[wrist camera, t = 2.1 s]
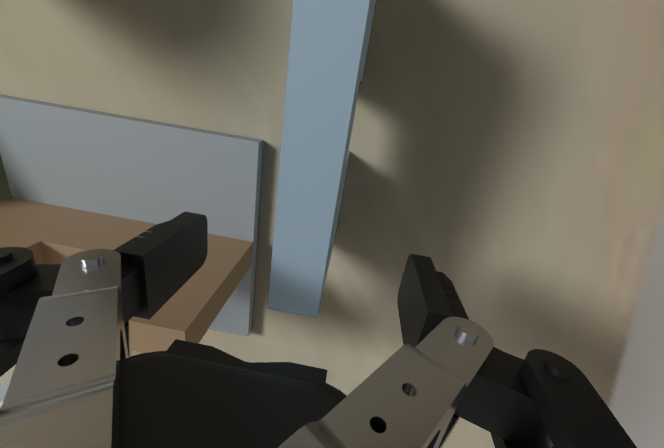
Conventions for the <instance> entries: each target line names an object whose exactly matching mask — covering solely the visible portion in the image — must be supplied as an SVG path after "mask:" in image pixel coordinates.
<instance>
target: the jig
mask: <svg viewBox="0 0 664 448" xmlns="http://www.w3.org/2000/svg"><path fill="white" fill-rule="evenodd" d="M262 152H263V140H260V139H254V138H248V137H242V136H236V135H231V134H225V133H219V132H213V131H207V130H202V129H196V128H190V127H184V126H179V125H173V124H167V123H161V122H155V121H150V120H144V119H138V118H132V117H126V116H121V115H115V114H109V113H103V112H98V111H92V110H86V109H80V108H74V107H69V106H63V105H57V104H51V103H46V102H40V101H34V100H28V99H22V98H17V97H11V96H5V95H0V156H1V159H2V163H3V166H4V170H5V174H6V177H7V181H8V184H9V188H10V192H11V195H12V197H11V198H8V199H4V200H1V201H0V248H2V247H24V248H28V249H30V250H32V251H33V254H34V258H35V262H36V264H61V263H62V262H63V260H64V259H66V258H67V257H69V256H71V255H73V254H75V253H78V252H82V251H86V250H92V249H109V250H114V249H116V248H118V247H119V246H121V245H123V244H124V243H126V242H128V241H129V240H131V239H133V238H134V237H138V235H139V234H141V233H143V232H146V230H148V229H149V228H151V227H153V226H154V225H156V224H160V223H163V222H166V221H170V220H172V219H173V218H175V217H176V216H178V215H180V214H181V213H183V212H185V211H186V212H192V213H197V214H202V215H205V216H206V217H207V223H208V252H207V257H206V260H205V262H204V264H203V266H202V267H201V268H200V269H199V270H198V271H197V272H196V273H195V274H194V275H193V276H192V277H191V278H190V279H189V280H188V281H187V282H186V283H185V284H184V285H183V286H182V287H181V288H180V289H179V290H178V291H177V292H176V293H175V294H174V295H173V296H172V297H171V298H170V299H169V300H168V301H167V302H166V303H165V304H164V305H163V306H162V307H161V308H160V309H159V310H158V311H157V312H156V313H155V314H154V315H153V316H152V317H151V318H150V320H149V319H144V318H139V317H134V316H133V317H132V318H131V319H130V320H129V325H130V350H132V351H137V352H142V353H149V352H156V351H167V349H168V348H169V347H170V346H171V344H172V343H173V342H174V341H175V339H178V340H183V341H188V342H192V343H197V344H198V343H199V342H200V340H201V339H202V337H203V336H204V334H205V333H206V331H207V330H208V329H213V330H218V331H223V332H228V333H233V334H239V335H244V336H249V333H250V331H251V329H252V317H253V301H254V284H255V268H256V251H257V235H258V218H259V201H260V185H261V168H262Z"/></svg>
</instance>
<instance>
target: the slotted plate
mask: <svg viewBox="0 0 664 448" xmlns="http://www.w3.org/2000/svg"><path fill="white" fill-rule="evenodd" d="M375 4H376V0H293V11H292V23H291V35H290V47H289V59H288V71H287V83H286V95H285V107H284V118H283V130H282V142H281V154H280V166H279V178H278V190H277V202H276V214H275V226H274V238H273V250H272V262H271V274H270V285H269V297H268V309H273V310H278V311H283V312H288V313H293V314H299V315H304V316H309V317H314V318H317V316H318V311H319V307H320V302H321V298H322V293H323V289H324V284H325V280H326V275H327V271H328V266H329V262H330V257H331V253H332V248H333V244H334V239H335V235H336V229H337V224H338V218H339V212H340V206H341V201H342V195H343V189H344V183H345V177H346V172H347V166H348V160H349V154H350V151H348V149H349V143H350V137H351V132H352V126H353V120H354V114H355V108H356V102H357V96H358V91H359V85H360V82H362V79H363V73H364V68H365V62H366V56H367V50H368V44H369V39H370V33H371V27H372V21H373V16H374V10H375Z"/></svg>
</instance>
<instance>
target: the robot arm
mask: <svg viewBox="0 0 664 448" xmlns="http://www.w3.org/2000/svg"><path fill="white" fill-rule="evenodd" d="M207 252H208V223H207V217H206V216H205V215H202V214H197V213H192V212H186V211H185V212H183V213H181V214H180V215H178V216H176V217H175V218H173V219H172V220H170V221H166V222H163V223H160V224H156V225H154V226H153V227H151V228H149V229H148V230H146V232H143V233H141V234H139V235H138V237H134V238H133V239H131V240H129V241H128V242H126V243H124V244H123V245H121V246H119V247H118V248H116V249H114V250H109V249H92V250H86V251H82V252H78V253H75V254H73V255H71V256H69V257H67V258H66V259H64V260H63V262H62V263H61V264H36V262H35V258H34V254H33V251H32V250H30V249H28V248H24V247H2V248H0V377H1V376H2V375H3V374H4V373H5V372H7V371H8V370H9V369H10V368H12V367H13V366H14V365H15V364H16V367H15V369H14V372H13V375H12V378H11V381H10V384H9V387H8V390H7V393H6V395H5V398H4V401H3V404H2V407H1V408H0V448H442V447H443V445H444V444H445V442H446V440H447V439H448V437H449V435H450V434H451V432H452V430H453V429H454V427H455V426H456V424H457V422H458V421H459V419H460V417H461V418H463V419H465V420H467V421H469V422H471V423H473V424H475V425H477V426H479V427H481V428H483V429H485V430H487V431H489V432H491V436H492V439H493V442H494V446H495V448H637V447H636V446H635V444H634V443H633V442H632V440H631V439H630V437H629V436H628V435H627V434H626V432H625V430H624V429H623V428H622V426H621V425H620V424H619V422H618V421H617V419H616V418H615V417H614V415H613V414H612V412H611V411H610V410H609V408H608V407H607V405H606V404H605V403H604V401H603V400H602V398H601V397H600V396H599V394H598V393H597V391H596V390H595V389H594V387H593V386H592V385H591V383H590V382H589V380H588V379H587V378H586V376H585V375H584V374H583V373H582V372H581V371H580V370H579V369H578V368H577V367H576V366H575V365H573V364H572V363H571V362H569V361H568V360H566V359H565V358H563V357H561V356H559V355H557V354H555V353H552V352H549V351H546V350H541V349H534V350H531V351H529V352H528V354H527V356H526V358H525V359H524V360H523V359H520V358H518V357H515V356H513V355H510V354H508V353H505V352H503V351H501V350H499V349H497V348H495V347H493V340H492V338H491V336H490V335H489V334H488V332H487V331H486V330H484V329H483V328H482V327H481V326H479V325H478V324H476V323H474V322H472V321H470V320H469V319H468V316H467V314H466V312H465V310H464V308H463V305H462V303H461V301H460V299H459V297H458V294H457V292H455V288H454V286H453V283H452V281H451V280H450V279H449V278H448V277H447V276H446V275H445V274H443V273H442V272H437V271H436V270H435V268H434V265H433V263H432V260H431V258H430V257H425V256H420V255H415V254H410V255H409V257H408V260H407V263H406V266H405V270H404V273H403V277H402V280H401V284H400V288H399V292H398V310H399V317H400V324H401V331H402V337H403V344H404V345H403V346H402V347H401V348H400V349H399V350H398V351H397V352H395V353H394V354H393V355H392V356H391V357H390V358H389V359H388V360H387V361H385V362H384V363H383V364H382V365H381V366H380V367H379V368H378V369H377V370H375V371H374V372H373V373H372V374H371V375H370V376H369V377H368V378H367V379H365V380H364V381H363V382H362V383H361V384H360V385H359V386H358V387H357V388H355V389H354V390H353V391H352V392H351V393H350V394H349V395H348V396H346V395H345V394H344V393H342V392H341V391H340V390H338V389H336V388H335V387H333V386H331V385H329V384H327V383H325V382H326V376H327V370H325V369H320V368H315V367H310V366H305V365H301V364H296V363H291V362H267V363H249V362H245V361H242V360H240V359H238V358H236V357H234V356H231V355H229V354H227V353H225V352H223V351H221V350H219V349H217V348H214V347H212V346H207V345H202V344H197V343H192V342H188V341H183V340H178V339H175V341H174V342H173V343H172V344H171V346H170V347H169V348H168V349H167V351H156V352H149V353H143V354H139V355H135V356H132V357H131V350H130V325H129V320H130V319H131V318H132V317H133V316H134V317H139V318H144V319H149V320H150V318H151V317H152V316H153V315H154V314H155V313H156V312H157V311H158V310H159V309H160V308H161V307H162V306H163V305H164V304H165V303H166V302H167V301H168V300H169V299H170V298H171V297H172V296H173V295H174V294H175V293H176V292H177V291H178V290H179V289H180V288H181V287H182V286H183V285H184V284H185V283H186V282H187V281H188V280H189V279H190V278H191V277H192V276H193V275H194V274H195V273H196V272H197V271H198V270H199V269H200V268H201V267H202V266H203V264H204V262H205V260H206V257H207Z"/></svg>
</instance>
